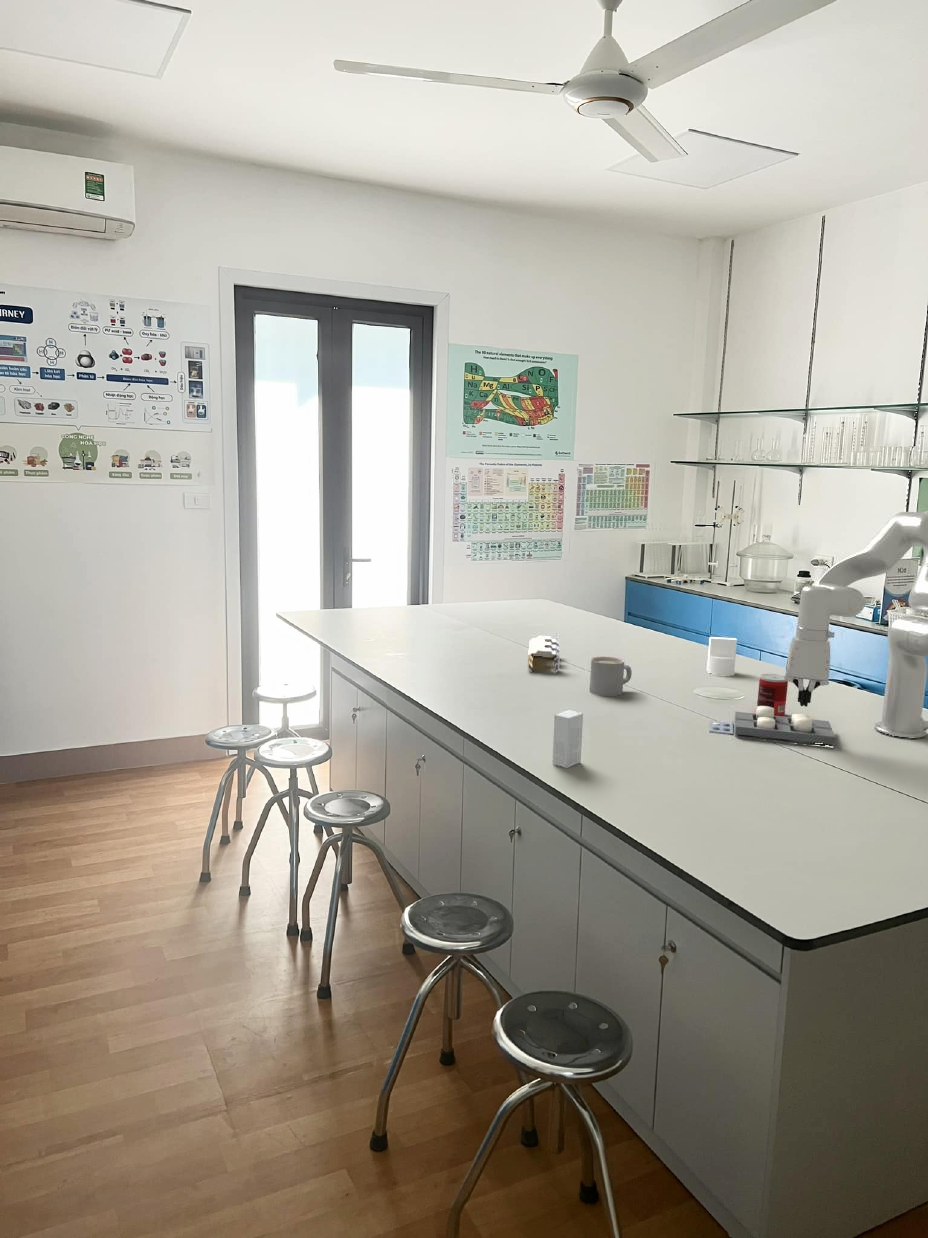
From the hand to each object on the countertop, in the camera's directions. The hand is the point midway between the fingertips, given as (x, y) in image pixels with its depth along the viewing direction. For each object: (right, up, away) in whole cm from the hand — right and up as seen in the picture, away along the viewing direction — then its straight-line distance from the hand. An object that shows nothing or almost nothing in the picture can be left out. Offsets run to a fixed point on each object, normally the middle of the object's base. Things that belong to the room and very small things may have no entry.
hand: (803, 705), depth 232 cm
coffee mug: (-42, 0, +45) cm, 61 cm away
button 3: (+2, -7, +8) cm, 11 cm away
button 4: (0, -7, +1) cm, 7 cm away
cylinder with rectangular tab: (0, +4, +75) cm, 75 cm away
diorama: (-60, +6, +79) cm, 99 cm away
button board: (-6, -8, +7) cm, 13 cm away
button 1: (-6, -5, +11) cm, 13 cm away
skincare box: (-63, -12, -22) cm, 68 cm away
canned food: (0, -5, +26) cm, 27 cm away
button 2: (-8, -7, +4) cm, 12 cm away
